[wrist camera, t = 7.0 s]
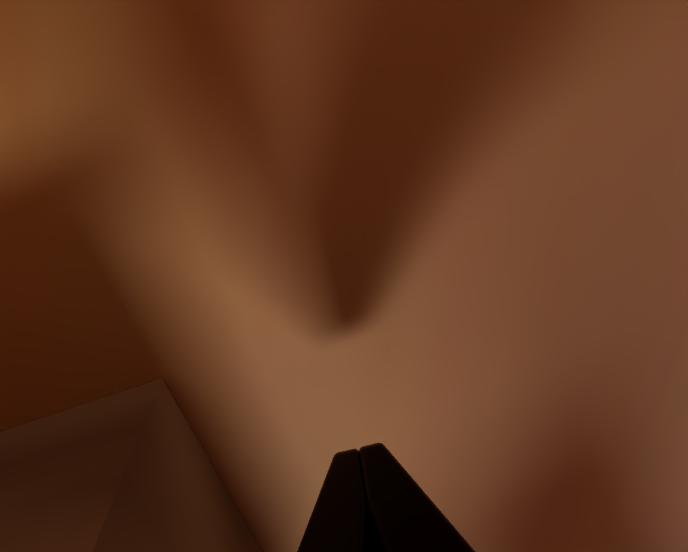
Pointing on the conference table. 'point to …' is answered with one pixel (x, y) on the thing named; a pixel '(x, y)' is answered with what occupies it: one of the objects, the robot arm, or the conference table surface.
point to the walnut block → (115, 481)
